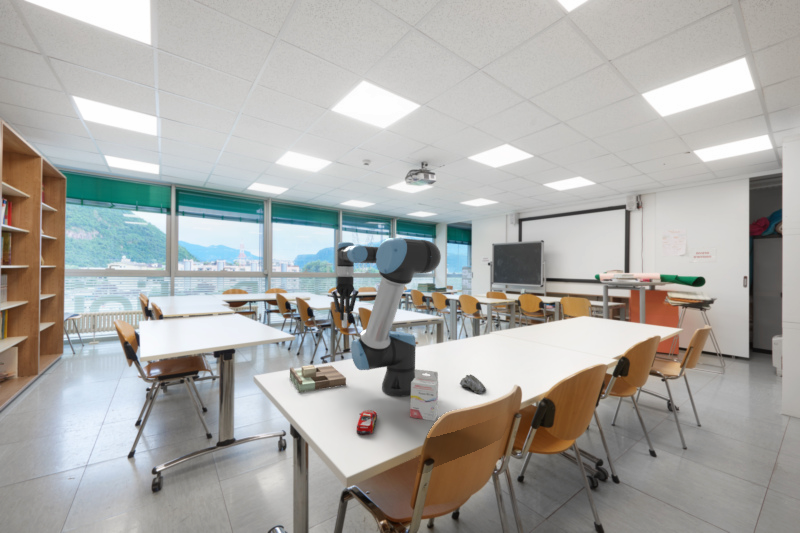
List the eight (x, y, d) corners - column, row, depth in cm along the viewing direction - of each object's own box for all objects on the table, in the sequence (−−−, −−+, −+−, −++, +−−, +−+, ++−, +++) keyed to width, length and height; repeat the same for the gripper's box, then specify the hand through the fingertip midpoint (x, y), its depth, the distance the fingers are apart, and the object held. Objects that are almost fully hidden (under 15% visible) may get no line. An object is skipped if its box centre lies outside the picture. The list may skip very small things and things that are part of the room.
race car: (362, 416, 109) (362, 404, 109) (378, 417, 109) (378, 404, 109) (353, 435, 96) (354, 422, 96) (372, 436, 96) (372, 422, 96)
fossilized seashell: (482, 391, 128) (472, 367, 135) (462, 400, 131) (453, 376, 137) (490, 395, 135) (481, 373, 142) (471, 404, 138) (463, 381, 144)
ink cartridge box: (409, 417, 108) (410, 372, 108) (413, 411, 113) (414, 368, 113) (435, 421, 105) (436, 375, 106) (438, 415, 110) (438, 371, 110)
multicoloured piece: (345, 385, 138) (345, 374, 138) (299, 392, 129) (299, 380, 129) (331, 371, 155) (331, 362, 155) (289, 377, 146) (290, 367, 146)
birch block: (316, 376, 139) (316, 368, 139) (304, 378, 137) (304, 369, 137) (313, 373, 143) (313, 365, 144) (301, 374, 141) (301, 366, 141)
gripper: (355, 275, 157) (354, 325, 157) (328, 275, 151) (327, 327, 150) (361, 276, 151) (360, 327, 151) (334, 276, 144) (333, 329, 144)
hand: (344, 327), depth 150 cm, fingers closed
